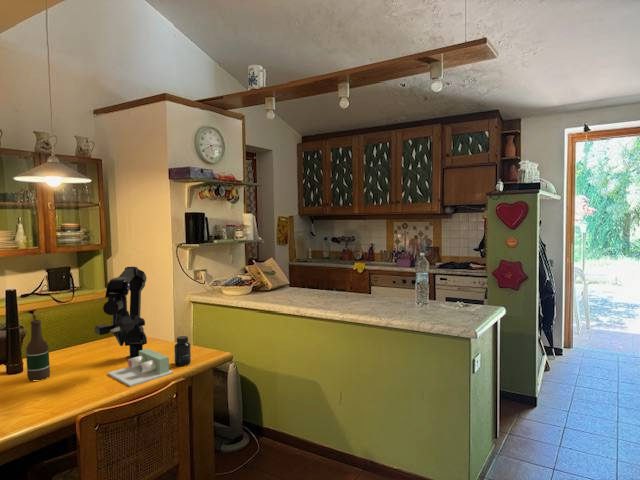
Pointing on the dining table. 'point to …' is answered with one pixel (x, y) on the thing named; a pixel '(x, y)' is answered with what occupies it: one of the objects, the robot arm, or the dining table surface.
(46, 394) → the dining table surface
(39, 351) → the beer bottle
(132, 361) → the knob
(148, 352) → the mount
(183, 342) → the supplement bottle
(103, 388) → the dining table surface
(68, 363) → the dining table surface
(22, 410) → the dining table surface
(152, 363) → the knob
